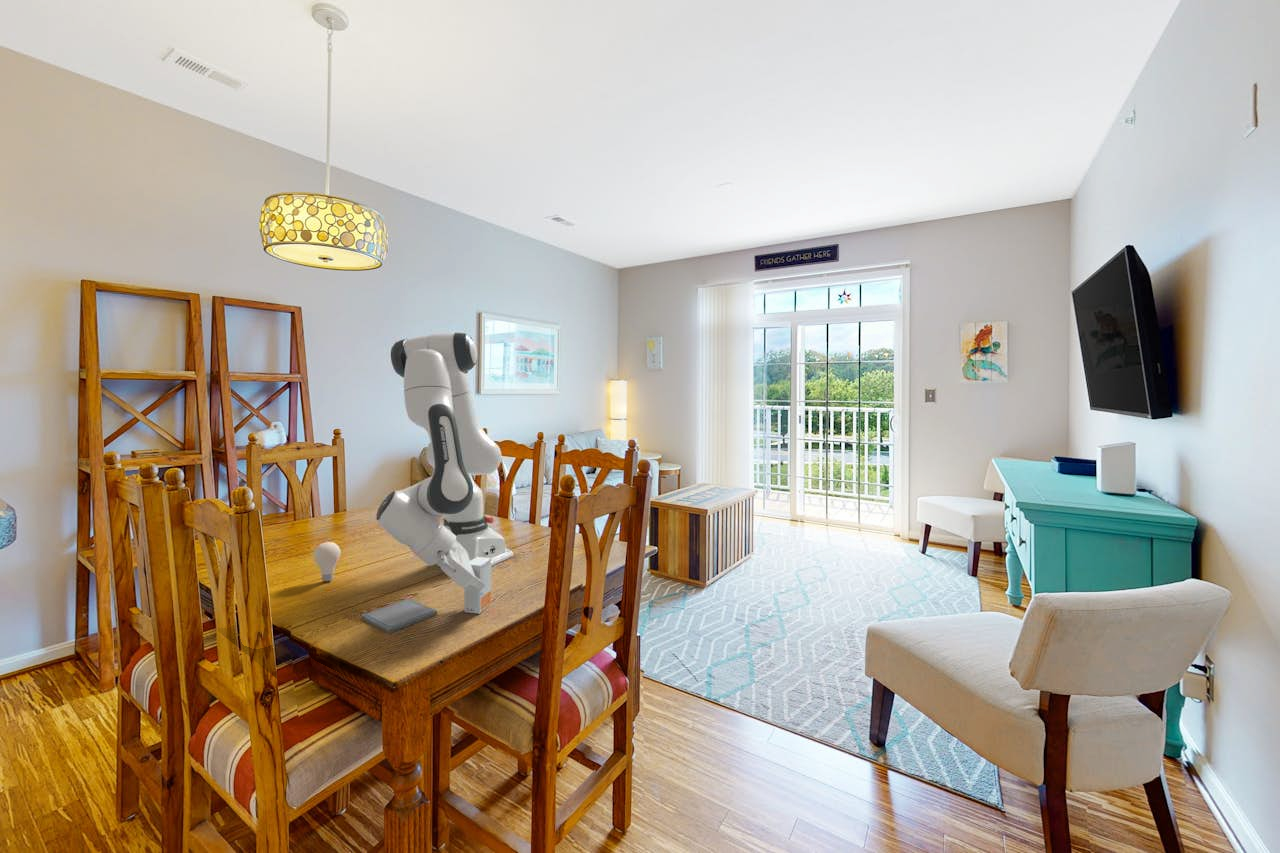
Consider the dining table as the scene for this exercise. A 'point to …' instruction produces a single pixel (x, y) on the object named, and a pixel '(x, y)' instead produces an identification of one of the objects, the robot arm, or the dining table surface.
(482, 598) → the skincare box
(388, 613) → the plate
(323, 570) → the light bulb
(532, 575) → the dining table surface
